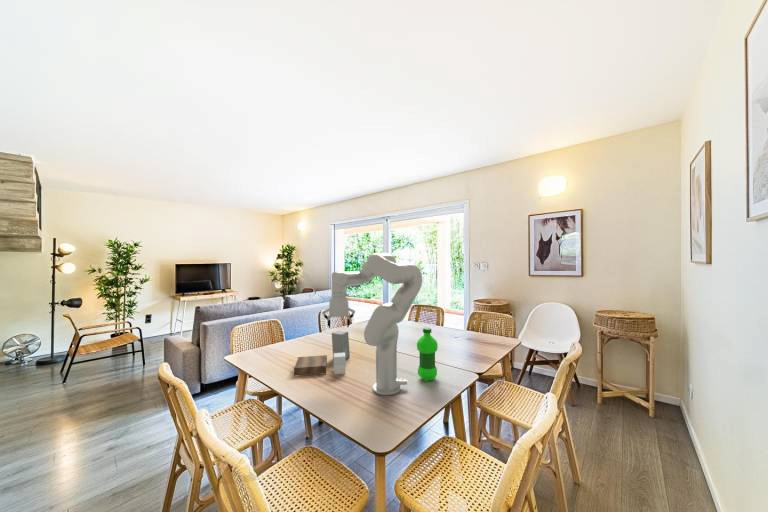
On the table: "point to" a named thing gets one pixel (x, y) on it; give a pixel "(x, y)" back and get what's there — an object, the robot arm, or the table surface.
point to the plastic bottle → (427, 355)
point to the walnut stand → (310, 365)
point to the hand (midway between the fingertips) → (338, 327)
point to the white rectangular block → (339, 363)
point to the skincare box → (340, 343)
